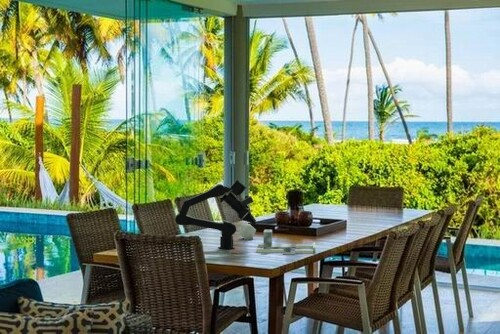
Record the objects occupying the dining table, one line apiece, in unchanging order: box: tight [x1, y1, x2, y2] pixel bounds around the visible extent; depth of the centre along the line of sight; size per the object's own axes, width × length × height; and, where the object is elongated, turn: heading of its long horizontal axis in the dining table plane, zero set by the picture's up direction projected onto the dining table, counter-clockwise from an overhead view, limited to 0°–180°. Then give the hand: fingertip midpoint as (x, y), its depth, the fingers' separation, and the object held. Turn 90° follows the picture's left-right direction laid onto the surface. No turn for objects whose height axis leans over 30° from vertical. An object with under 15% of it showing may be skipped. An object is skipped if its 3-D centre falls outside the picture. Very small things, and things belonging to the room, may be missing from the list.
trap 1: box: [282, 251, 296, 256], centre depth 442 cm, size 6×6×1 cm
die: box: [238, 223, 257, 240], centre depth 493 cm, size 8×9×10 cm
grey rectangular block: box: [262, 229, 292, 252], centre depth 454 cm, size 14×10×10 cm
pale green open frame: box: [255, 242, 316, 254], centre depth 454 cm, size 30×18×3 cm, turn 86°
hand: (255, 222), depth 455 cm, fingers open, 9 cm apart
